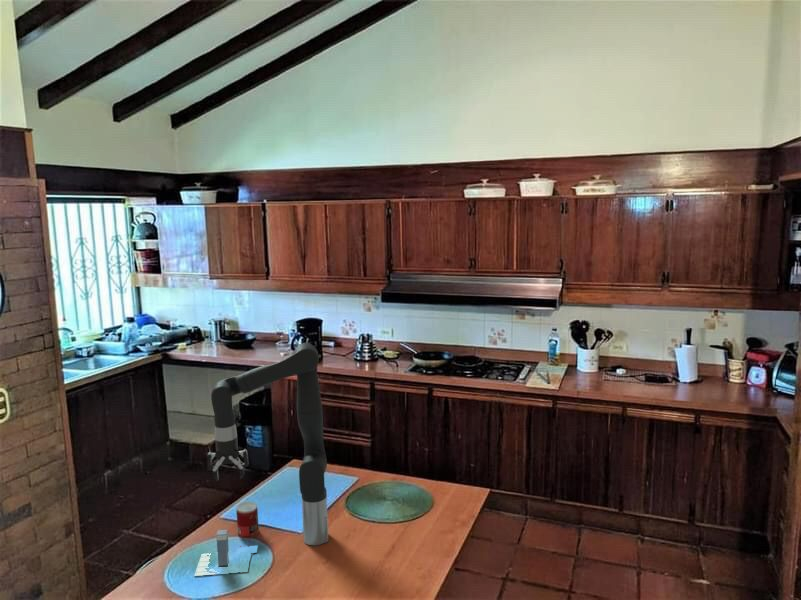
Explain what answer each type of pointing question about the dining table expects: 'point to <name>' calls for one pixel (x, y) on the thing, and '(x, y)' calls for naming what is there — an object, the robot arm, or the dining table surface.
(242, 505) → the canned food
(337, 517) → the dining table surface
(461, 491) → the dining table surface
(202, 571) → the notepad
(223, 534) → the grey rectangular block
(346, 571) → the dining table surface
